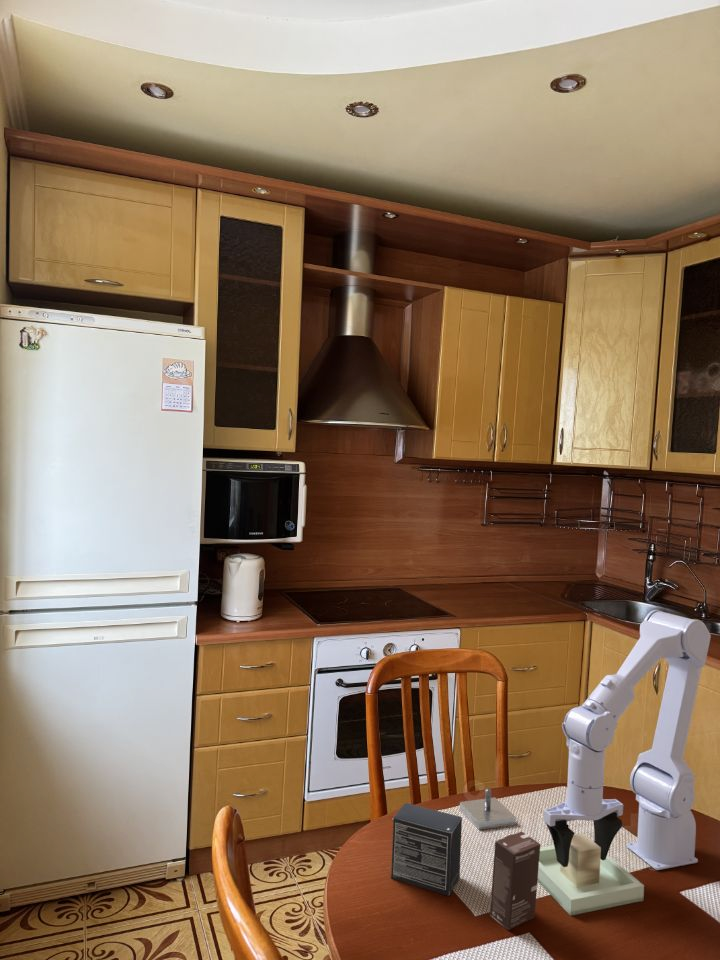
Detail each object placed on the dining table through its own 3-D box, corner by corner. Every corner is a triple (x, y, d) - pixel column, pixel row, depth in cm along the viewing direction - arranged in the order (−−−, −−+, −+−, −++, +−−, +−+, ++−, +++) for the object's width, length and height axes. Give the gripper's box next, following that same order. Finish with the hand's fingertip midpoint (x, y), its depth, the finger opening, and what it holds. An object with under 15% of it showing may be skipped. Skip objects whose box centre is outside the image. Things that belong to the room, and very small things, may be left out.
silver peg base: (494, 804, 141) (495, 778, 141) (515, 824, 133) (516, 796, 133) (459, 809, 138) (460, 782, 138) (478, 830, 131) (480, 801, 131)
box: (510, 933, 102) (514, 854, 102) (488, 915, 106) (492, 839, 106) (538, 919, 106) (541, 842, 105) (516, 903, 109) (519, 829, 109)
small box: (461, 876, 116) (464, 815, 116) (450, 897, 110) (452, 833, 110) (403, 858, 120) (405, 800, 120) (389, 878, 115) (391, 817, 114)
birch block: (582, 867, 119) (583, 833, 119) (599, 882, 115) (600, 847, 114) (560, 871, 117) (561, 837, 117) (576, 887, 113) (578, 851, 113)
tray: (588, 852, 125) (589, 839, 124) (643, 900, 111) (644, 885, 111) (521, 864, 120) (522, 850, 120) (570, 915, 107) (571, 899, 107)
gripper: (605, 766, 121) (601, 841, 122) (534, 775, 117) (531, 853, 117) (633, 784, 115) (629, 864, 115) (559, 794, 110) (555, 877, 110)
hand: (581, 860), depth 116 cm, fingers open, 7 cm apart
